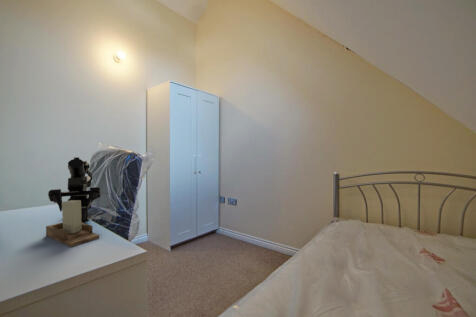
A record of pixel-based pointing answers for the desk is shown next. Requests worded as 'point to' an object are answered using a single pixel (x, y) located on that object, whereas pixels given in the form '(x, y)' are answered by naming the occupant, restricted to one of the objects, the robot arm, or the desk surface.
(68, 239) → the tray
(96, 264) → the desk surface
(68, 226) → the box
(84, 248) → the desk surface
